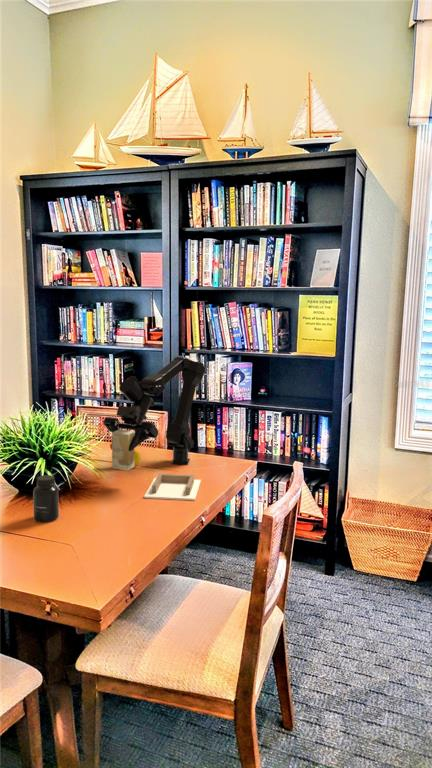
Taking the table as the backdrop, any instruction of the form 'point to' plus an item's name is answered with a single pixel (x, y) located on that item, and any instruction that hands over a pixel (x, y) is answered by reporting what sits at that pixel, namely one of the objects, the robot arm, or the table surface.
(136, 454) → the duckling
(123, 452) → the skincare box
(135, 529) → the table surface
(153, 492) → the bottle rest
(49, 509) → the supplement bottle
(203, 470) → the table surface
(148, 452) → the table surface
